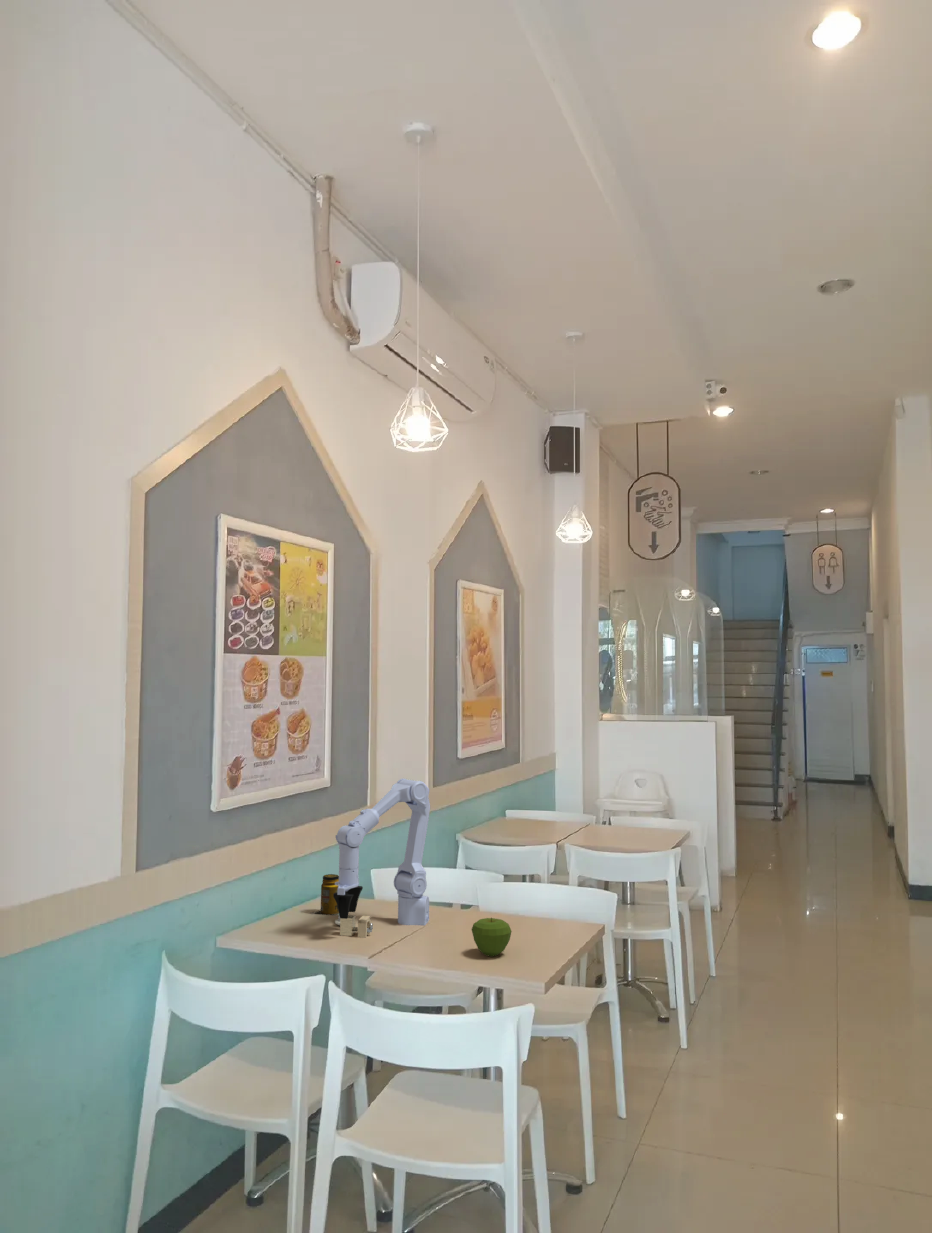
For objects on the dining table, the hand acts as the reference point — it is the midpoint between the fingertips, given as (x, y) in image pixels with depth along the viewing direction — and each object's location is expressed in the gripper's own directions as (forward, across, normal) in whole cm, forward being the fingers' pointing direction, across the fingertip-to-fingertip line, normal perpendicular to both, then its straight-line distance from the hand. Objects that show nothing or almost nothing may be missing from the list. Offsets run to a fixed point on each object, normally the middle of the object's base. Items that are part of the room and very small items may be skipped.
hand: (347, 914), depth 262 cm
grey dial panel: (+6, -5, 0) cm, 8 cm away
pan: (+5, -11, -5) cm, 13 cm away
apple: (+6, +8, +44) cm, 45 cm away
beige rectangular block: (+5, 0, +3) cm, 6 cm away
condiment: (+7, -25, -14) cm, 30 cm away
